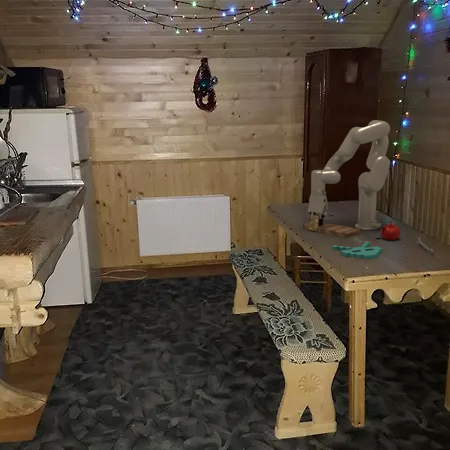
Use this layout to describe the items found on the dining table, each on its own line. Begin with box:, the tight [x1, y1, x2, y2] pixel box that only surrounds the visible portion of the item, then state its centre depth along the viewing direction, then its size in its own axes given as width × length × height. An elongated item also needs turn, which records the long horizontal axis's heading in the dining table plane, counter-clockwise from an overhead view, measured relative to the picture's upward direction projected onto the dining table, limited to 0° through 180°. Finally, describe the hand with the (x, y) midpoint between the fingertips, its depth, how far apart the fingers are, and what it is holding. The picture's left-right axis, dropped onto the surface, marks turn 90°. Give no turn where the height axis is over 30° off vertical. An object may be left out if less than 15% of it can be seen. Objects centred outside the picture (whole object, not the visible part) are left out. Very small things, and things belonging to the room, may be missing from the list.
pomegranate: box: [380, 221, 401, 241], centre depth 275 cm, size 10×10×9 cm
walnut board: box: [302, 221, 361, 239], centre depth 293 cm, size 30×12×3 cm, turn 41°
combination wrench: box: [416, 236, 434, 255], centre depth 257 cm, size 4×1×20 cm
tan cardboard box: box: [308, 213, 325, 232], centre depth 294 cm, size 5×7×8 cm
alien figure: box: [331, 241, 384, 260], centre depth 254 cm, size 20×2×20 cm
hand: (317, 224), depth 295 cm, fingers closed on tan cardboard box, 4 cm apart
